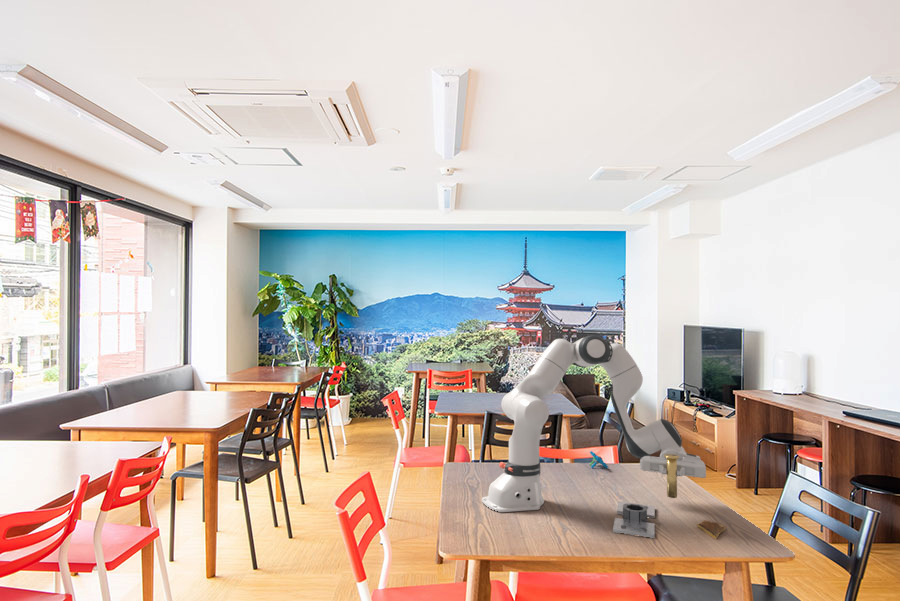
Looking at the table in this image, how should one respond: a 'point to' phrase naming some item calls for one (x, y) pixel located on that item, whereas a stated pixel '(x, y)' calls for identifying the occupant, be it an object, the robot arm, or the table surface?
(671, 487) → the hinge pin
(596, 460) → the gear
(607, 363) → the robot arm
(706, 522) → the shard
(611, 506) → the table surface
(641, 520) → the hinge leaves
